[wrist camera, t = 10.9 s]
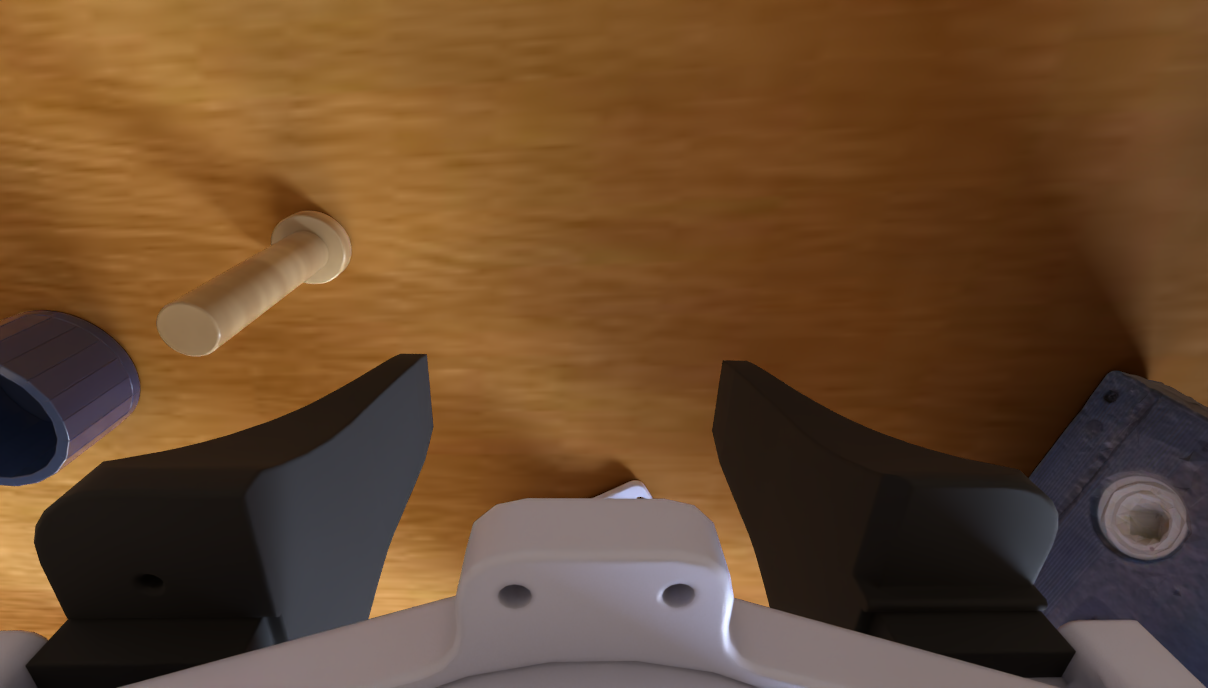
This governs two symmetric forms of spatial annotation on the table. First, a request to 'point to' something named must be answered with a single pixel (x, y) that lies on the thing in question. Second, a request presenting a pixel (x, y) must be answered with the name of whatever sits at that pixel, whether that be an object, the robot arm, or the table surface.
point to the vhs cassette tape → (1132, 515)
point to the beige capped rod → (256, 283)
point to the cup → (58, 392)
